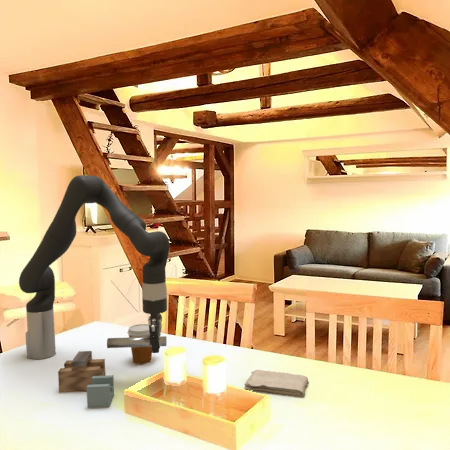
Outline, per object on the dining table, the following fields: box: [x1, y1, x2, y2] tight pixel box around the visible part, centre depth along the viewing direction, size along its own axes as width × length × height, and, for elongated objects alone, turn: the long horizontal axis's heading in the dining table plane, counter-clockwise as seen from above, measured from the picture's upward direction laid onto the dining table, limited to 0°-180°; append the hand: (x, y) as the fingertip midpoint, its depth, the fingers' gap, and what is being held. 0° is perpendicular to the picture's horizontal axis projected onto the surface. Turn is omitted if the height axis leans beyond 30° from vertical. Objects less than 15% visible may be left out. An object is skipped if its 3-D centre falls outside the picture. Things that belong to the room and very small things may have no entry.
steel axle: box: [106, 335, 168, 349], centre depth 139 cm, size 18×3×3 cm, turn 94°
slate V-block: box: [86, 374, 115, 409], centre depth 128 cm, size 6×7×6 cm
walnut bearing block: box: [57, 350, 106, 394], centre depth 138 cm, size 12×9×9 cm
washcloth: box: [243, 369, 309, 398], centre depth 135 cm, size 12×18×3 cm, turn 72°
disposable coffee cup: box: [127, 323, 153, 365], centre depth 158 cm, size 10×10×12 cm
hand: (156, 350), depth 139 cm, fingers closed on steel axle, 3 cm apart
